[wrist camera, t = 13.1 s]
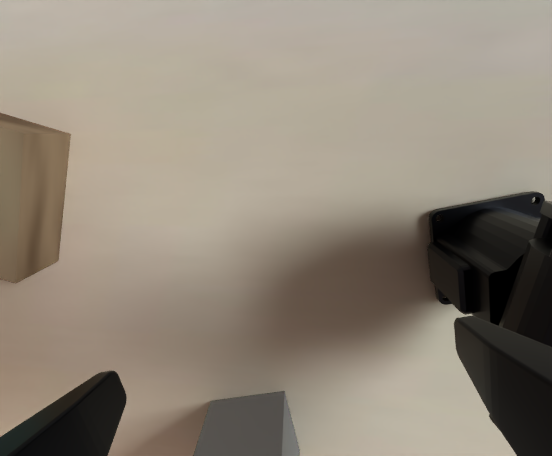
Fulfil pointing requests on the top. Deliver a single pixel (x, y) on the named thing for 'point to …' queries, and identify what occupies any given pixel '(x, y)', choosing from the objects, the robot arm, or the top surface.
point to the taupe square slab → (30, 196)
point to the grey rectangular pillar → (248, 427)
